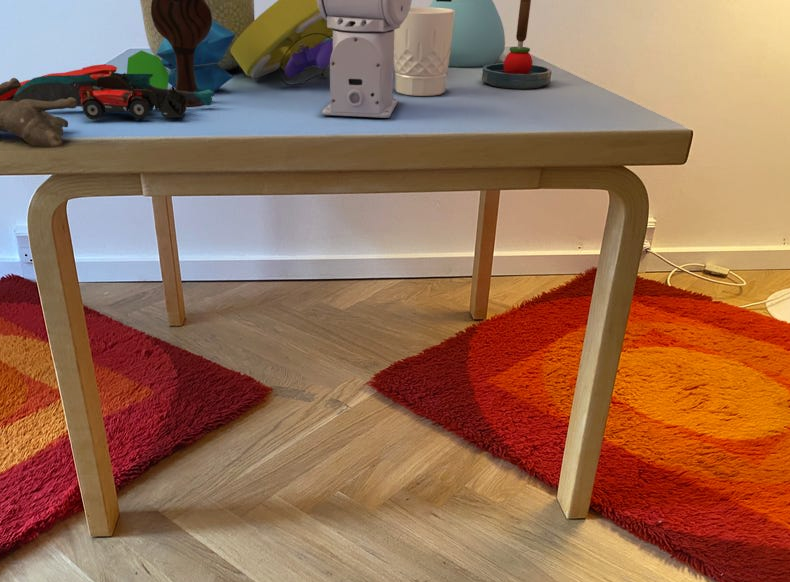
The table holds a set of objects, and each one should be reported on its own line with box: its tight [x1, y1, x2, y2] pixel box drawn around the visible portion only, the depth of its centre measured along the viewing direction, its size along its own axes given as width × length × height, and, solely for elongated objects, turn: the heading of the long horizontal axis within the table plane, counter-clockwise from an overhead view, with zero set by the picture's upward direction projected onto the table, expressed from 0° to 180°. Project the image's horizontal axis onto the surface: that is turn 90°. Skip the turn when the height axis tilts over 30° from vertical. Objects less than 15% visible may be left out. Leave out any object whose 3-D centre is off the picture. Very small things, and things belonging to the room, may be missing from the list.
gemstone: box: [126, 49, 170, 89], centre depth 92 cm, size 6×6×6 cm
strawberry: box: [503, 0, 533, 74], centre depth 98 cm, size 4×4×11 cm
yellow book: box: [231, 0, 333, 79], centre depth 100 cm, size 16×21×5 cm
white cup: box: [393, 6, 455, 97], centre depth 93 cm, size 8×8×10 cm
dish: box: [481, 62, 553, 90], centre depth 101 cm, size 10×10×2 cm
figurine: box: [151, 0, 212, 108], centre depth 84 cm, size 7×5×18 cm
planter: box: [139, 0, 256, 72], centre depth 105 cm, size 17×17×15 cm
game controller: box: [279, 33, 333, 87], centre depth 97 cm, size 10×8×10 cm
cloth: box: [0, 64, 118, 102], centre depth 92 cm, size 26×14×2 cm, turn 175°
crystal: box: [156, 20, 236, 92], centre depth 93 cm, size 7×9×12 cm
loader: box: [73, 72, 187, 121], centre depth 80 cm, size 12×5×5 cm, turn 94°
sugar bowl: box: [428, 0, 506, 68], centre depth 115 cm, size 15×15×12 cm
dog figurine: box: [0, 77, 78, 148], centre depth 72 cm, size 12×6×7 cm
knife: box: [12, 74, 215, 107], centre depth 83 cm, size 24×1×5 cm, turn 97°
